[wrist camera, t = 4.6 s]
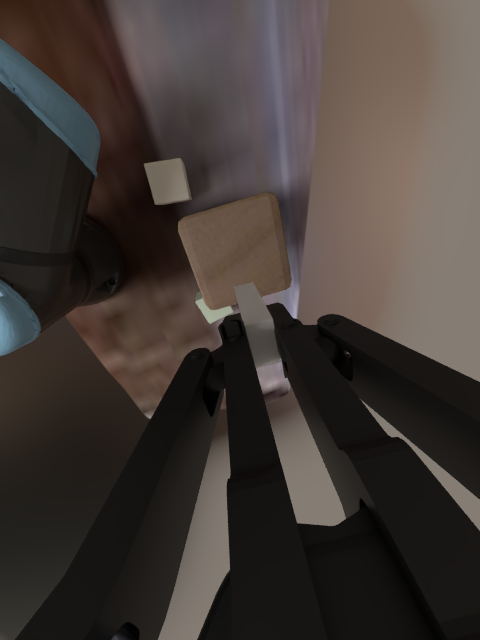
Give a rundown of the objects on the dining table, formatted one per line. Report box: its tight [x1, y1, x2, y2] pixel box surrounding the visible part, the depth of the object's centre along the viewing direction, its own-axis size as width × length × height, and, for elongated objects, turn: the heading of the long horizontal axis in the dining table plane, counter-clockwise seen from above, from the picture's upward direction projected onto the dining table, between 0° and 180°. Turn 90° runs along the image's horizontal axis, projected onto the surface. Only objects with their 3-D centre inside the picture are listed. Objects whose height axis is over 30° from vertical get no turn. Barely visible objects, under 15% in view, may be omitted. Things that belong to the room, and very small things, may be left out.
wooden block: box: [178, 192, 291, 310], centre depth 32 cm, size 10×10×20 cm
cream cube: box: [144, 158, 192, 205], centre depth 34 cm, size 5×5×5 cm
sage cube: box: [195, 291, 234, 324], centre depth 43 cm, size 5×5×5 cm
